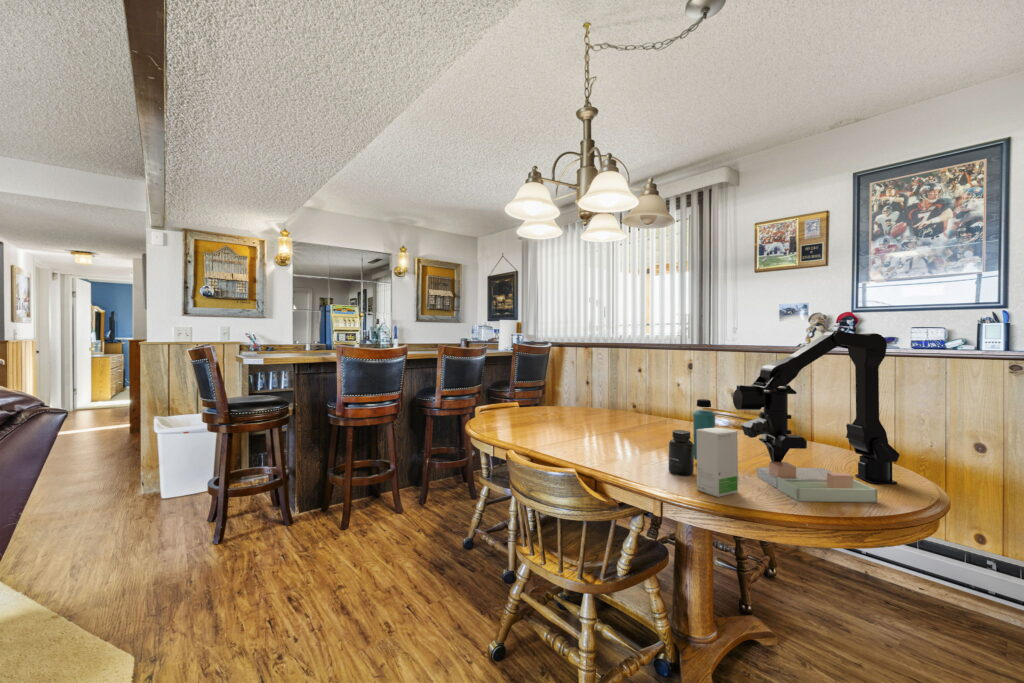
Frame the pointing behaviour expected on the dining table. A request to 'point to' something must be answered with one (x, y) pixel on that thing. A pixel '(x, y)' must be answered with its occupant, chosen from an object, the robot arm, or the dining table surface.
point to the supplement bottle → (681, 454)
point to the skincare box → (717, 461)
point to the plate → (801, 475)
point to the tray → (826, 492)
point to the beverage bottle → (702, 420)
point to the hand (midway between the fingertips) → (775, 466)
